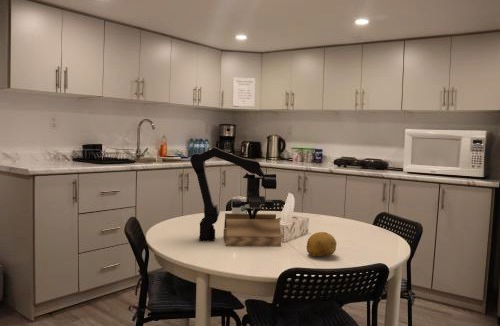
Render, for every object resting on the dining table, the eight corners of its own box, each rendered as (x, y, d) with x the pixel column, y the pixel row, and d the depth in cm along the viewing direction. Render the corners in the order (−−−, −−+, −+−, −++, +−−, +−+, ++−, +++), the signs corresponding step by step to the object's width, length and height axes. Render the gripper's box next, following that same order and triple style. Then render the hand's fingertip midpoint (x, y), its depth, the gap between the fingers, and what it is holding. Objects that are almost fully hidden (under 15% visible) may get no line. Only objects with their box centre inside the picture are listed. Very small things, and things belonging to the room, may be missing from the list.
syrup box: (240, 226, 223) (241, 198, 221) (231, 224, 226) (232, 196, 225) (246, 224, 227) (247, 197, 226) (238, 222, 231) (239, 195, 230)
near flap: (280, 236, 188) (280, 236, 188) (226, 236, 185) (226, 236, 185) (279, 219, 192) (279, 219, 192) (226, 219, 189) (226, 218, 189)
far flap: (224, 228, 200) (224, 227, 200) (274, 228, 203) (274, 228, 203) (225, 214, 196) (225, 213, 197) (276, 214, 199) (276, 213, 200)
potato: (303, 252, 181) (304, 229, 180) (332, 252, 182) (333, 229, 181) (309, 260, 170) (310, 235, 170) (340, 260, 172) (341, 235, 171)
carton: (225, 246, 186) (226, 237, 185) (223, 237, 200) (223, 228, 200) (280, 246, 189) (281, 237, 188) (274, 237, 203) (274, 228, 203)
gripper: (234, 190, 183) (232, 226, 185) (277, 191, 186) (275, 227, 187) (231, 187, 194) (230, 221, 196) (272, 187, 197) (271, 221, 198)
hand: (251, 222), depth 194 cm, fingers closed
